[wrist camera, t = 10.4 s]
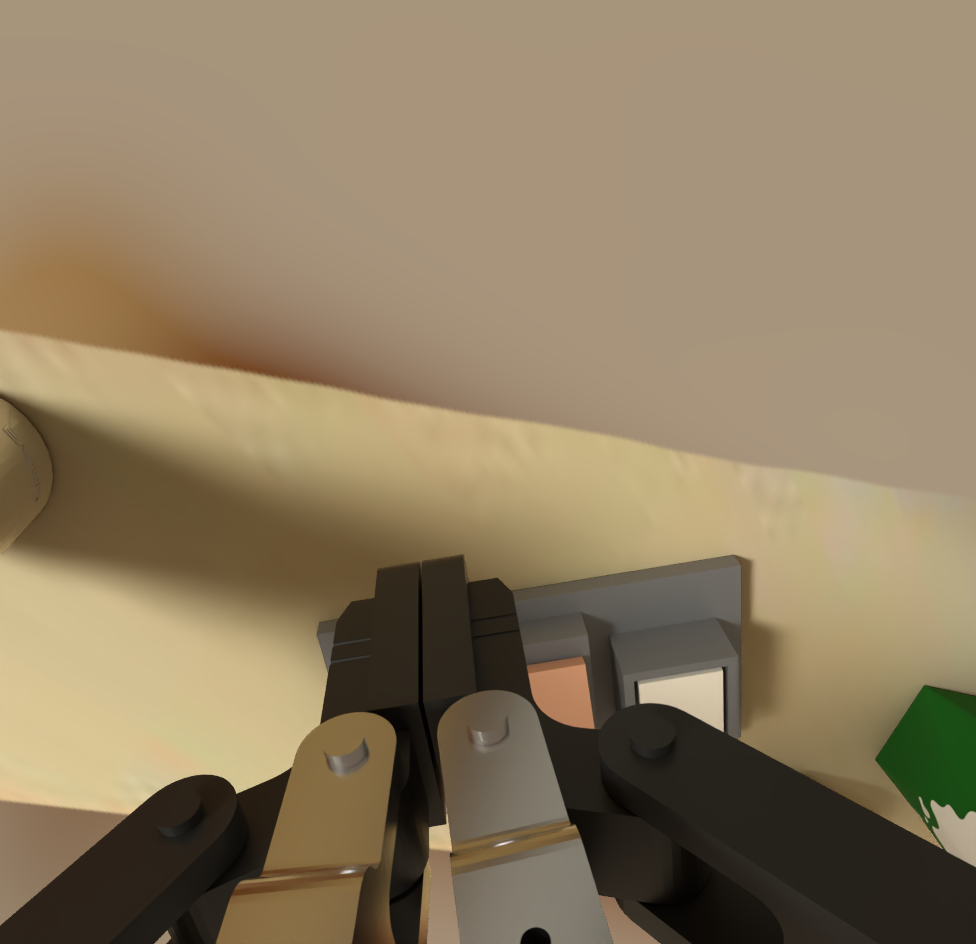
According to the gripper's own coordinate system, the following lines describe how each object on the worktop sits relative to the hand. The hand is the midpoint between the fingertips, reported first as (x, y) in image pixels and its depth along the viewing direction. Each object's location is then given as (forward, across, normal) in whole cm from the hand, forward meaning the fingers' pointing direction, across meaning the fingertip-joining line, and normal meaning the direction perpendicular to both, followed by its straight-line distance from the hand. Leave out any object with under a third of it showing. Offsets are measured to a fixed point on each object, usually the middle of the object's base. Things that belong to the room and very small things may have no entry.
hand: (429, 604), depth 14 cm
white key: (+28, -11, +27) cm, 40 cm away
